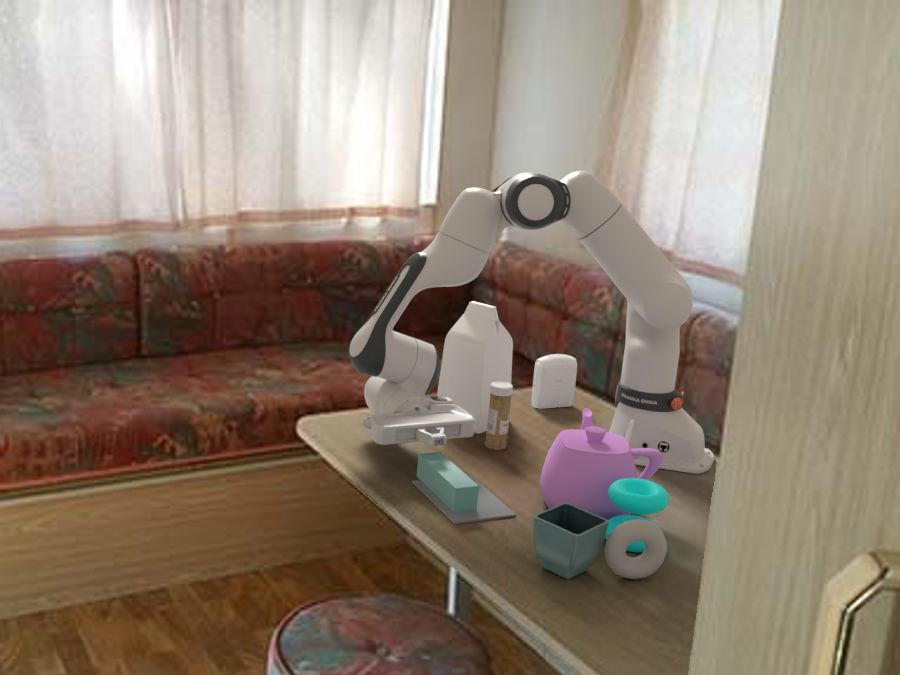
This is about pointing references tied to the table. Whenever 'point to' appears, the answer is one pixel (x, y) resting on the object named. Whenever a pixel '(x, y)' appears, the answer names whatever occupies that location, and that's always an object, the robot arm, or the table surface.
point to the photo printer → (554, 381)
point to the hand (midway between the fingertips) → (439, 441)
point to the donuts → (635, 503)
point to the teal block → (447, 482)
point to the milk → (475, 361)
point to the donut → (628, 535)
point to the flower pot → (568, 539)
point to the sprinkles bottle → (498, 415)
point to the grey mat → (486, 510)
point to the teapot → (591, 468)
